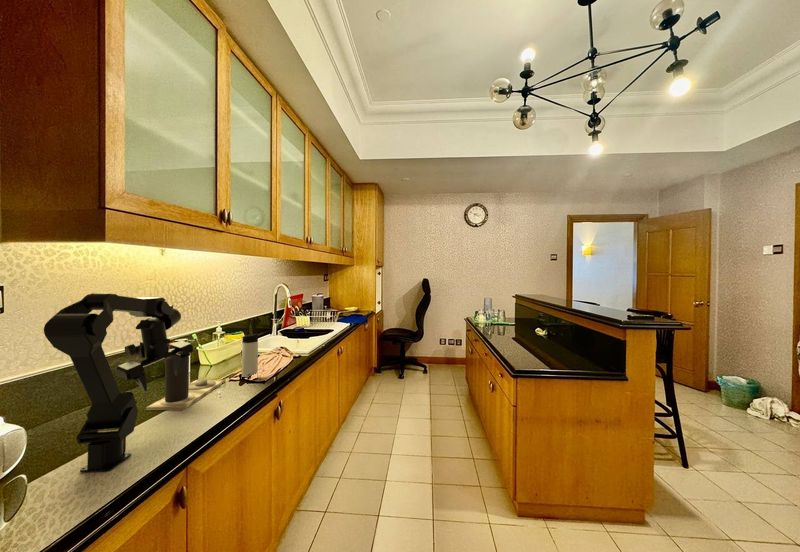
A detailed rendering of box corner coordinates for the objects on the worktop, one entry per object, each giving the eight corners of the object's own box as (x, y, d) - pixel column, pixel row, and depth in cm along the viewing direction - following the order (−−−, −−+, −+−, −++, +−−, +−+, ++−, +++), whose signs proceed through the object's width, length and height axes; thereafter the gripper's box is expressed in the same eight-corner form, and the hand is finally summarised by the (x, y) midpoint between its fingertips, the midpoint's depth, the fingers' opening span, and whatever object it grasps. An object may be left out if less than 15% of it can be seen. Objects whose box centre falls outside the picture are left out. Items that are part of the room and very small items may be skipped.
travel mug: (251, 382, 128) (252, 335, 128) (238, 380, 129) (239, 334, 129) (261, 377, 134) (261, 333, 134) (248, 376, 135) (249, 332, 136)
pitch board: (183, 409, 101) (183, 401, 101) (146, 410, 100) (146, 402, 100) (224, 382, 128) (224, 375, 128) (195, 382, 127) (195, 375, 127)
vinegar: (162, 399, 106) (163, 343, 106) (185, 393, 111) (186, 340, 111) (167, 404, 101) (168, 346, 102) (191, 398, 107) (191, 342, 107)
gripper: (169, 321, 101) (175, 362, 104) (99, 344, 83) (108, 392, 87) (192, 328, 97) (197, 370, 101) (123, 353, 80) (132, 403, 84)
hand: (161, 382), depth 93 cm, fingers open, 9 cm apart
